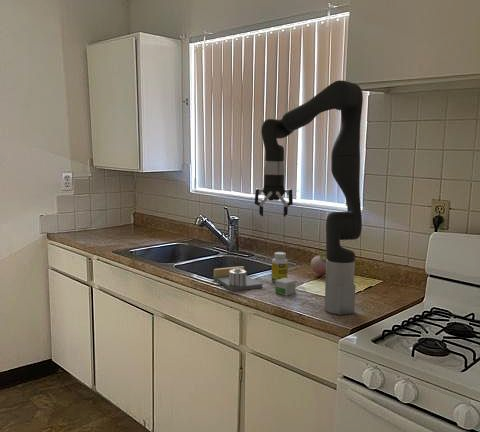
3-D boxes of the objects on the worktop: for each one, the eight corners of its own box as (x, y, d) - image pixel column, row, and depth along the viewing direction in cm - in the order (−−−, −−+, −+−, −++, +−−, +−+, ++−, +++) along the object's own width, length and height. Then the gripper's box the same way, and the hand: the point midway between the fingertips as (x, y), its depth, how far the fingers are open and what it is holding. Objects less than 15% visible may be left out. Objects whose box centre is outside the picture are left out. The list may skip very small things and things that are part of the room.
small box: (274, 292, 185) (274, 279, 184) (284, 289, 189) (284, 277, 188) (286, 295, 181) (286, 283, 180) (295, 292, 185) (296, 280, 184)
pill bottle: (274, 283, 197) (275, 255, 195) (269, 279, 203) (269, 251, 202) (289, 282, 199) (290, 254, 197) (284, 278, 205) (284, 251, 203)
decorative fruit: (307, 274, 213) (307, 251, 212) (324, 273, 215) (325, 250, 214) (315, 279, 204) (316, 256, 203) (334, 278, 206) (334, 255, 205)
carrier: (262, 287, 191) (262, 268, 190) (231, 291, 185) (231, 271, 184) (242, 276, 207) (242, 259, 206) (213, 279, 202) (213, 261, 201)
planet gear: (248, 285, 189) (248, 272, 188) (233, 287, 186) (233, 274, 185) (241, 281, 194) (241, 268, 194) (226, 282, 192) (226, 270, 191)
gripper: (292, 173, 188) (290, 215, 190) (254, 172, 188) (254, 214, 190) (294, 174, 181) (293, 217, 183) (255, 173, 181) (254, 217, 183)
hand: (273, 216), depth 187 cm, fingers open, 8 cm apart
